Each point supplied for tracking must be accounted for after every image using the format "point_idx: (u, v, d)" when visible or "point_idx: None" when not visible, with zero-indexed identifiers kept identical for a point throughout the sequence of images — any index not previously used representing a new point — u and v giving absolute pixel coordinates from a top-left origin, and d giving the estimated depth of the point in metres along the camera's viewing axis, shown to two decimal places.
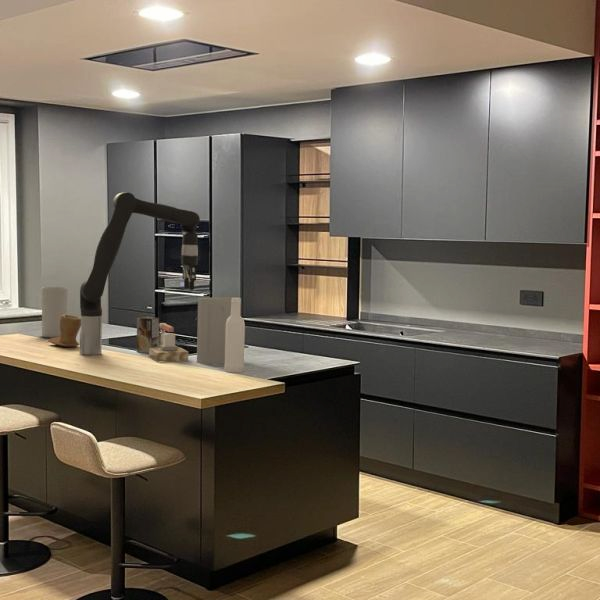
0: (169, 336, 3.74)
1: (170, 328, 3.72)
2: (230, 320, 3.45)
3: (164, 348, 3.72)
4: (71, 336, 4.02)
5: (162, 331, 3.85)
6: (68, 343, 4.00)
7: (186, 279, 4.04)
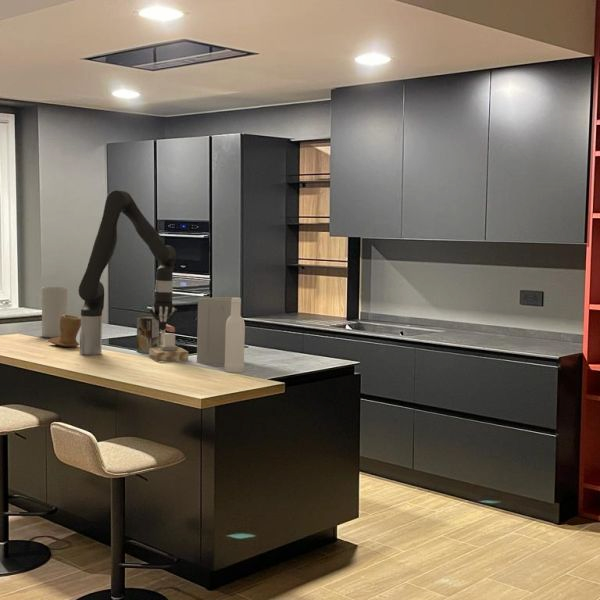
0: (169, 336, 3.74)
1: (171, 328, 3.72)
2: (230, 320, 3.45)
3: (164, 348, 3.72)
4: (71, 336, 4.02)
5: (162, 331, 3.85)
6: (68, 343, 4.00)
7: None
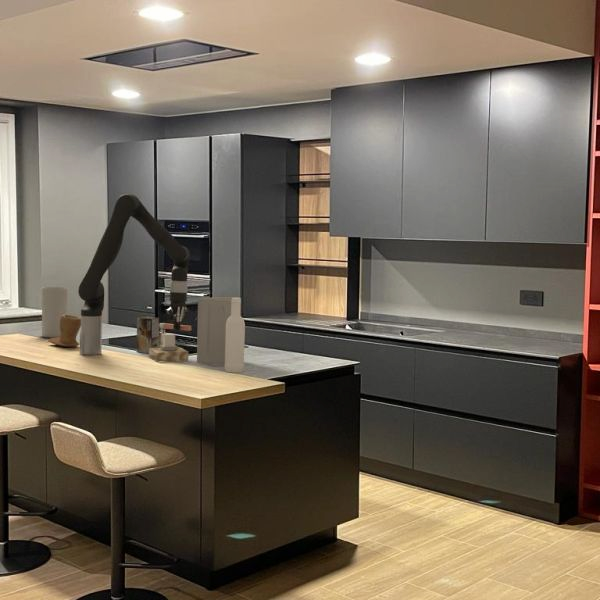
0: (169, 336, 3.74)
1: (189, 327, 3.78)
2: (230, 320, 3.45)
3: (164, 348, 3.72)
4: (71, 336, 4.02)
5: (162, 331, 3.85)
6: (68, 343, 4.00)
7: None
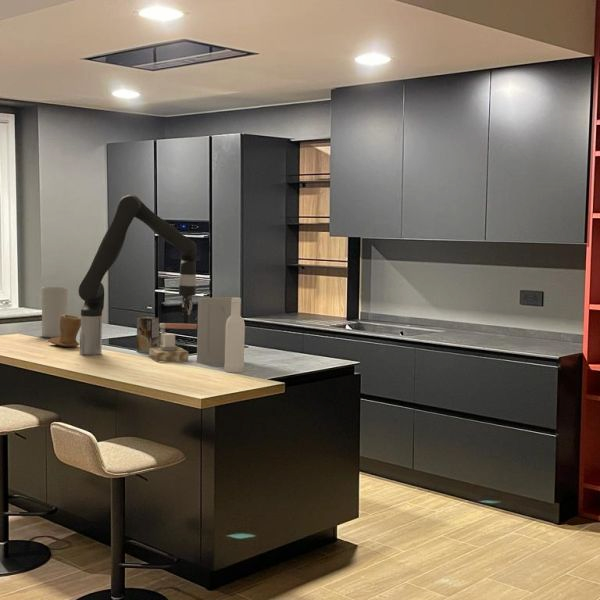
0: (169, 336, 3.74)
1: None
2: (230, 320, 3.45)
3: (164, 348, 3.72)
4: (71, 336, 4.02)
5: (162, 331, 3.85)
6: (68, 343, 4.00)
7: None
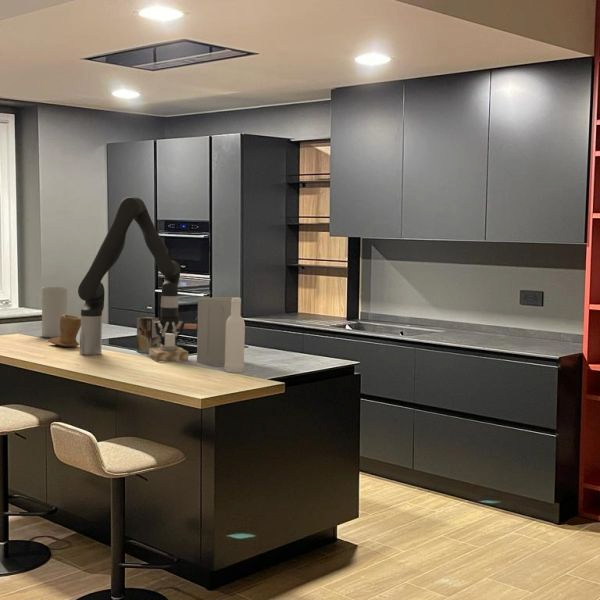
0: (169, 336, 3.74)
1: None
2: (230, 320, 3.45)
3: (164, 348, 3.72)
4: (71, 336, 4.02)
5: None
6: (68, 343, 4.00)
7: (163, 335, 3.75)
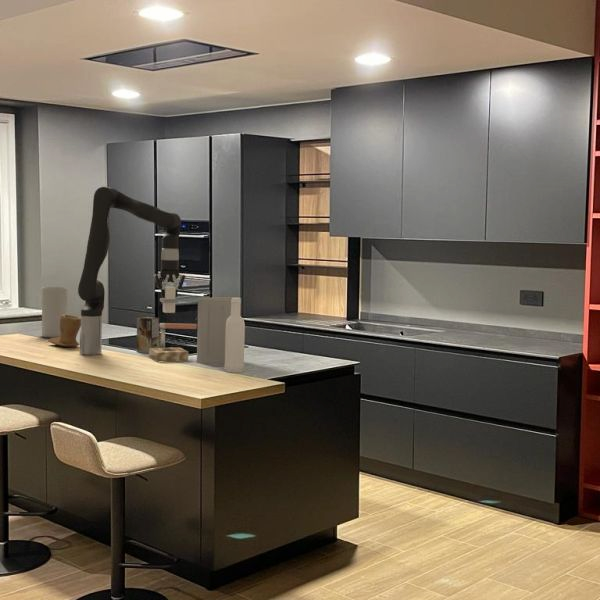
0: (169, 289, 3.72)
1: None
2: (230, 320, 3.45)
3: (164, 301, 3.70)
4: (71, 336, 4.02)
5: (162, 331, 3.85)
6: (68, 343, 4.00)
7: None
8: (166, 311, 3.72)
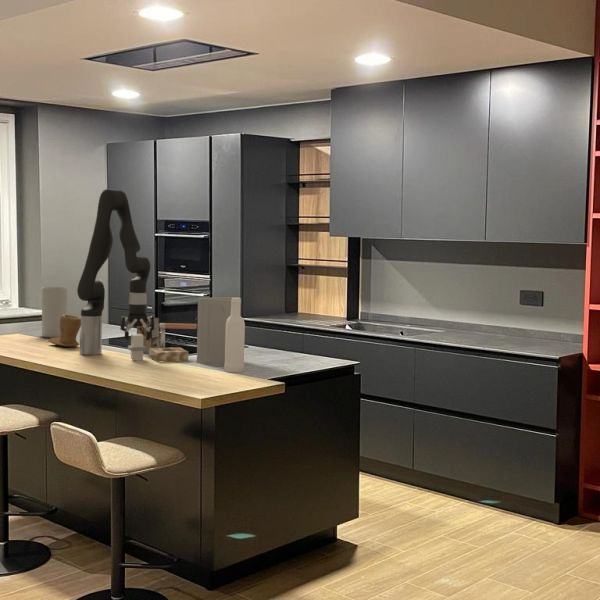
0: (137, 337, 3.68)
1: None
2: (230, 320, 3.45)
3: (132, 349, 3.67)
4: (71, 336, 4.02)
5: (162, 331, 3.85)
6: (68, 343, 4.00)
7: (127, 330, 3.68)
8: (134, 359, 3.68)
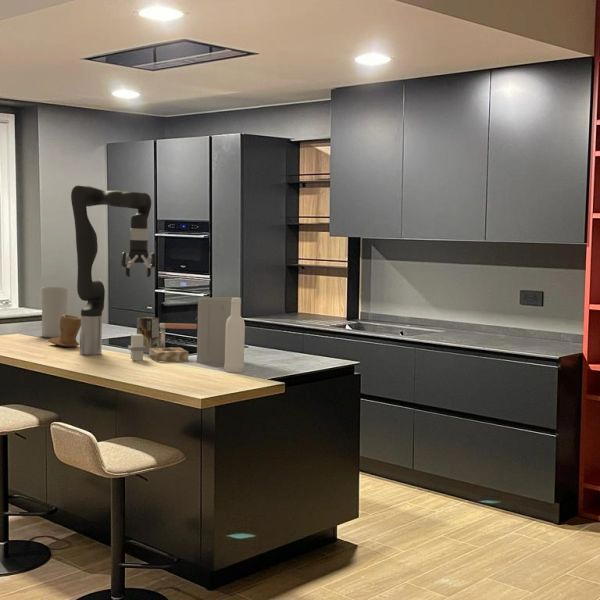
0: (137, 337, 3.68)
1: None
2: (230, 320, 3.45)
3: (132, 349, 3.67)
4: (71, 336, 4.02)
5: (162, 331, 3.85)
6: (68, 343, 4.00)
7: None
8: (134, 359, 3.68)
